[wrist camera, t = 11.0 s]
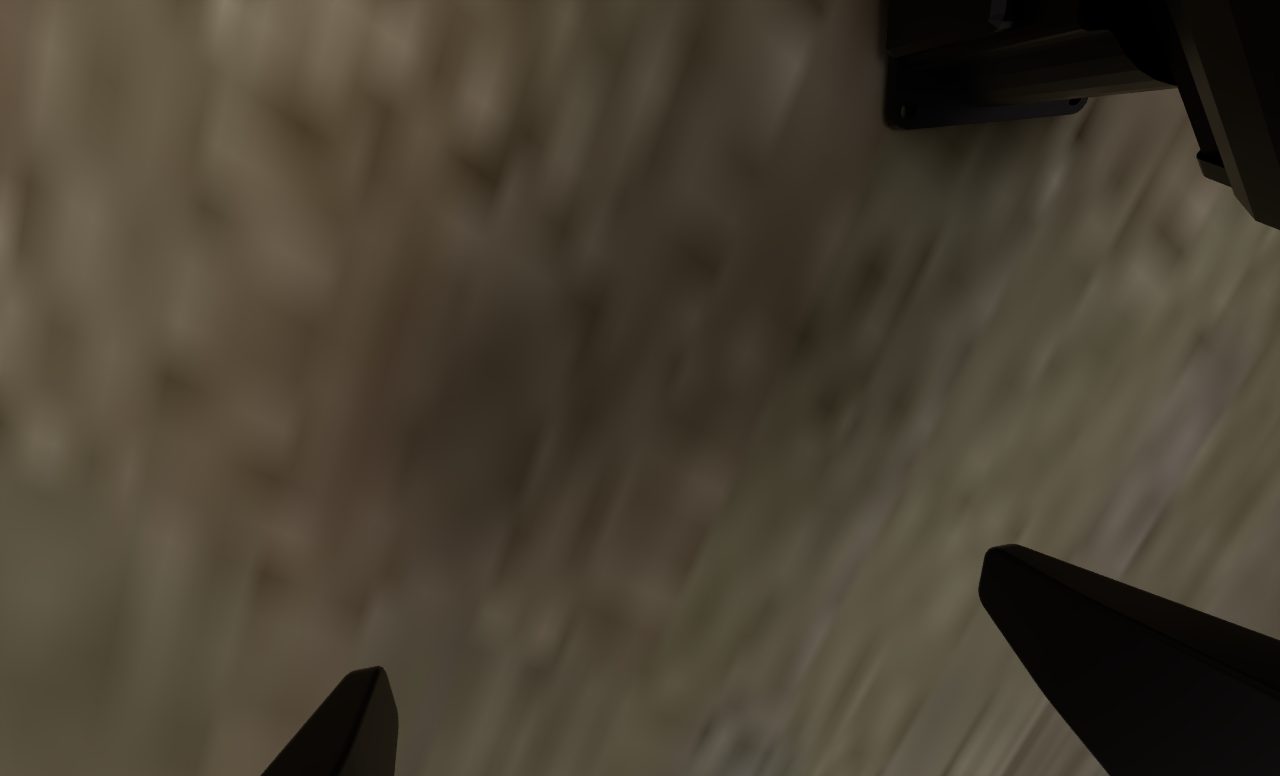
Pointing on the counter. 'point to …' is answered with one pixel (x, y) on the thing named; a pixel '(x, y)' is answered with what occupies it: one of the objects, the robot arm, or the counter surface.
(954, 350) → the counter surface
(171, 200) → the counter surface
